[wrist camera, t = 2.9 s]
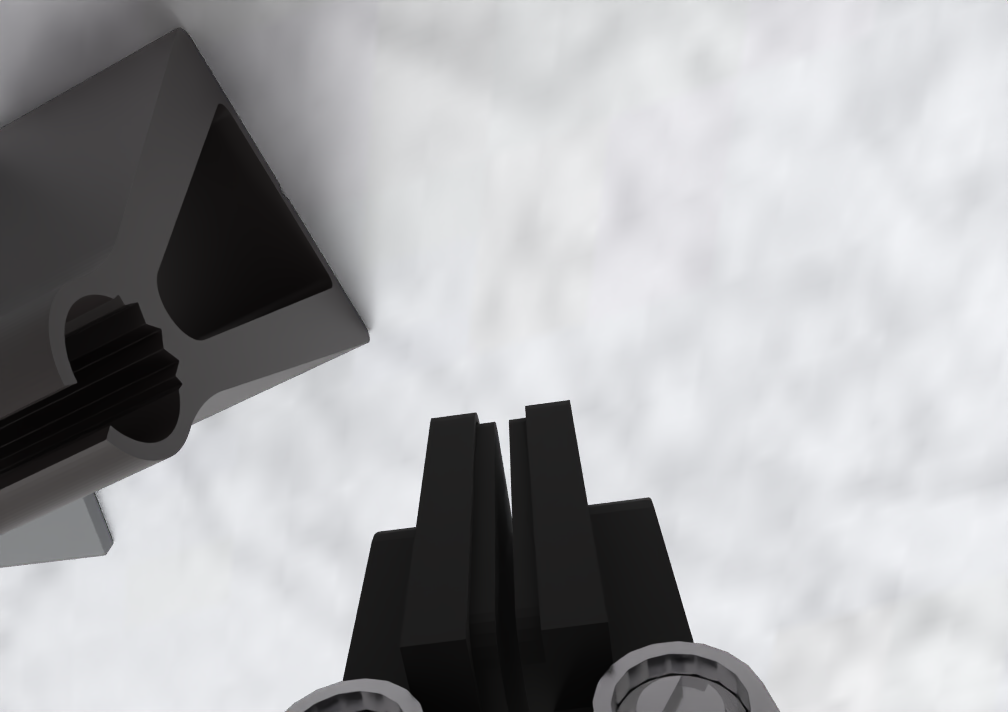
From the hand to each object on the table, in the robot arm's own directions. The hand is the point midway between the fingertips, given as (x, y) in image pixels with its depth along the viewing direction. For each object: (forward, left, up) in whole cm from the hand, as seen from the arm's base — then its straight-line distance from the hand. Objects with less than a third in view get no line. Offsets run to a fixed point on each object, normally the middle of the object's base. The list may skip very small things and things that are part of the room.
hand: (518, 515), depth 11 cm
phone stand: (+9, 0, -14) cm, 16 cm away
